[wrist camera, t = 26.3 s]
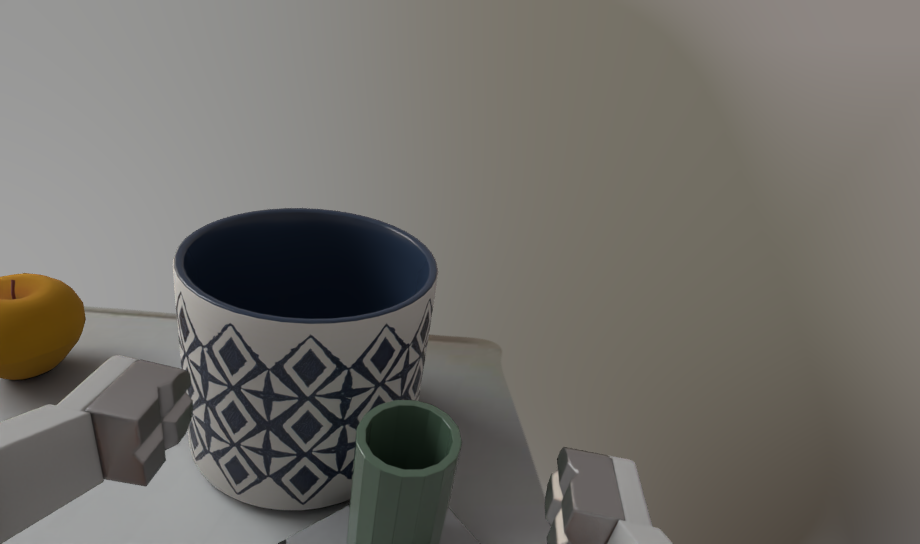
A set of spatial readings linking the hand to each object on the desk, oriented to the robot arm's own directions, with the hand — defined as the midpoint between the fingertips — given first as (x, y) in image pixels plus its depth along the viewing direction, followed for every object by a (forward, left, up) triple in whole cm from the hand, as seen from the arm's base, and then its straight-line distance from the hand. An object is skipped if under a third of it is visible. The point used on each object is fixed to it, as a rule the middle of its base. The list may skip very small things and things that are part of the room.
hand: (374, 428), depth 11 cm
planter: (+24, -11, -26) cm, 37 cm away
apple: (+42, +6, -26) cm, 50 cm away
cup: (+9, -9, -22) cm, 26 cm away
